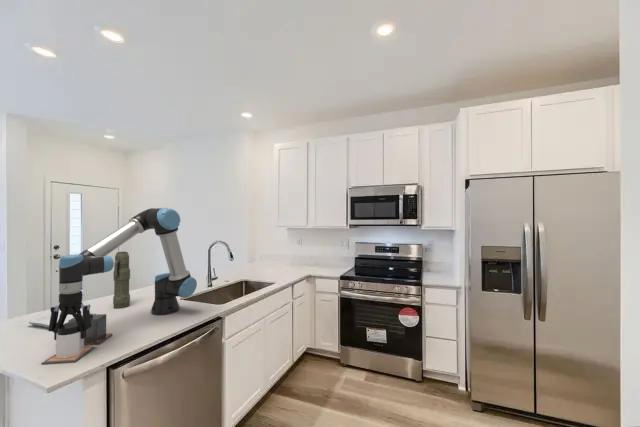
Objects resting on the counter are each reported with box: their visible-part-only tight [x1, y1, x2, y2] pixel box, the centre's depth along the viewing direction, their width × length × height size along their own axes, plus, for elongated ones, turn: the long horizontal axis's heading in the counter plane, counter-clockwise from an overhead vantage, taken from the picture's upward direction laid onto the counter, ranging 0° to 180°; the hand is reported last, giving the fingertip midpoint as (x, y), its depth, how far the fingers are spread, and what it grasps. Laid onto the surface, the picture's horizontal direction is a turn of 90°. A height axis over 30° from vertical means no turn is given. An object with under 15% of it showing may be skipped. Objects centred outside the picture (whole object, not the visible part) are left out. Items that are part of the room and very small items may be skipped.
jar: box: [55, 322, 85, 359], centre depth 122 cm, size 9×8×12 cm
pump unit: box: [68, 313, 113, 346], centre depth 137 cm, size 16×10×12 cm, turn 98°
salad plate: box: [28, 309, 97, 328], centre depth 160 cm, size 21×21×3 cm
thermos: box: [112, 251, 131, 310], centre depth 188 cm, size 9×12×35 cm
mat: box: [41, 345, 96, 366], centre depth 122 cm, size 12×13×1 cm
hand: (70, 346), depth 122 cm, fingers closed on jar, 7 cm apart
